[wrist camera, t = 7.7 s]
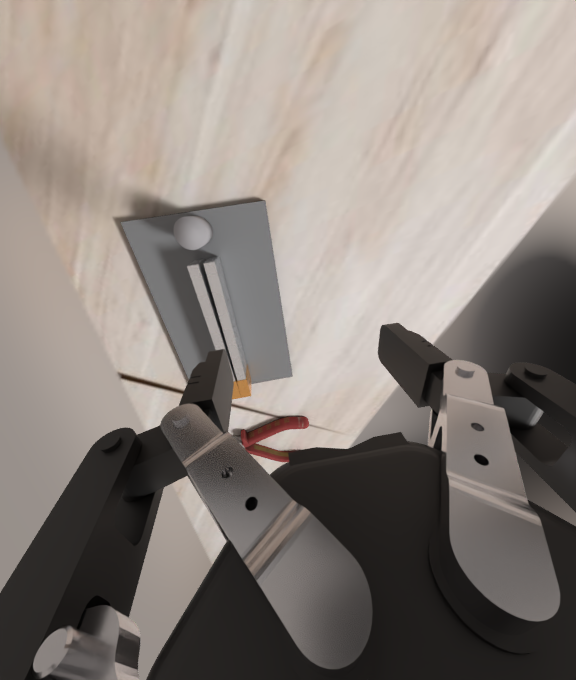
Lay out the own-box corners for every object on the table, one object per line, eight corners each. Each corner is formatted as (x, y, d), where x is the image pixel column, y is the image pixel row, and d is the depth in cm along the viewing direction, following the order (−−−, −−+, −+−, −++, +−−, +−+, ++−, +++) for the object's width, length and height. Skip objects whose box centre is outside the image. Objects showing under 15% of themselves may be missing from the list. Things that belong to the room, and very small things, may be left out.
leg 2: (208, 258, 28) (202, 263, 25) (220, 256, 28) (215, 261, 25) (242, 381, 37) (241, 397, 34) (251, 379, 37) (251, 395, 34)
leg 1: (193, 260, 28) (185, 266, 25) (205, 258, 28) (198, 264, 25) (233, 382, 37) (231, 399, 34) (242, 381, 37) (241, 397, 34)
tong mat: (124, 222, 26) (95, 223, 21) (264, 200, 27) (267, 197, 22) (196, 390, 38) (187, 415, 34) (291, 372, 39) (296, 394, 34)
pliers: (199, 418, 42) (196, 430, 40) (308, 412, 45) (311, 423, 43) (205, 459, 47) (203, 471, 45) (302, 451, 50) (305, 463, 48)
